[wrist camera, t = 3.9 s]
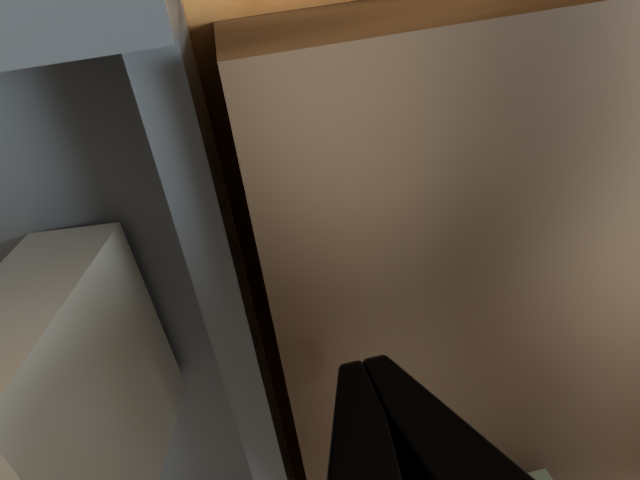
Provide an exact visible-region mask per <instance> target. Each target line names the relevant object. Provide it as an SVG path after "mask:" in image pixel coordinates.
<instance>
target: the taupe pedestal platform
mask: <svg viewBox="0 0 640 480" xmlns="http://www.w3.org/2000/svg"><path fill="white" fill-rule="evenodd" d="M213 23H214V34H215V44H216V55H217V63H218V68H219V73H220V77H221V82H222V87H223V92H224V96H225V101H226V106H227V110H228V115H229V120H230V124H231V129H232V134H233V138H234V143H235V148H236V152H237V157H238V162H239V166H240V171H241V176H242V180H243V185H244V190H245V194H246V199H247V204H248V208H249V213H250V218H251V222H252V227H253V232H254V236H255V241H256V246H257V250H258V255H259V260H260V264H261V269H262V274H263V278H264V283H265V288H266V292H267V297H268V302H269V306H270V311H271V316H272V320H273V325H274V330H275V334H276V339H277V344H278V348H279V353H280V358H281V362H282V367H283V372H284V376H285V381H286V386H287V390H288V395H289V400H290V404H291V409H292V414H293V418H294V423H295V428H296V433H297V437H298V442H299V447H300V451H301V456H302V461H303V465H304V470H305V475H306V479H307V480H327V471H328V462H329V452H330V443H331V434H332V424H333V415H334V406H335V396H336V387H337V378H338V369H339V366H340V365H341V364H344V363H348V362H352V361H357V360H360V361H362V362H363V360H364V359H366V358H369V357H374V356H378V355H386V356H388V357H389V358H390V359H392V360H393V361H394V362H395V363H396V364H398V365H399V366H400V367H401V368H402V369H404V370H405V371H406V372H407V373H408V374H410V375H411V376H412V377H413V378H414V379H416V380H417V381H418V382H419V383H420V384H422V385H423V386H424V387H425V388H426V389H428V390H429V391H430V392H431V393H432V394H434V395H435V396H436V397H437V398H438V399H440V400H441V401H442V402H443V403H444V404H446V405H447V406H448V407H449V408H450V409H452V410H453V411H454V412H455V413H456V414H458V415H459V416H460V417H461V418H462V419H464V420H465V421H466V422H467V423H468V424H470V425H471V426H472V427H473V428H474V429H476V430H477V431H478V432H479V433H480V434H481V435H483V436H484V437H485V438H486V439H487V440H489V441H490V442H491V443H492V444H493V445H495V446H496V447H497V448H498V449H499V450H501V451H502V452H503V453H504V454H505V455H507V456H508V457H509V458H510V459H511V460H513V461H514V462H515V463H516V464H517V465H519V466H520V467H521V468H522V469H523V470H525V471H526V472H527V473H529V472H532V471H536V470H540V469H544V468H546V470H547V471H548V473H549V474H550V476H551V478H552V479H553V480H640V0H358V1H351V2H345V3H338V4H331V5H325V6H318V7H311V8H305V9H298V10H291V11H285V12H278V13H271V14H265V15H258V16H251V17H245V18H238V19H231V20H225V21H218V22H213Z"/></svg>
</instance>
